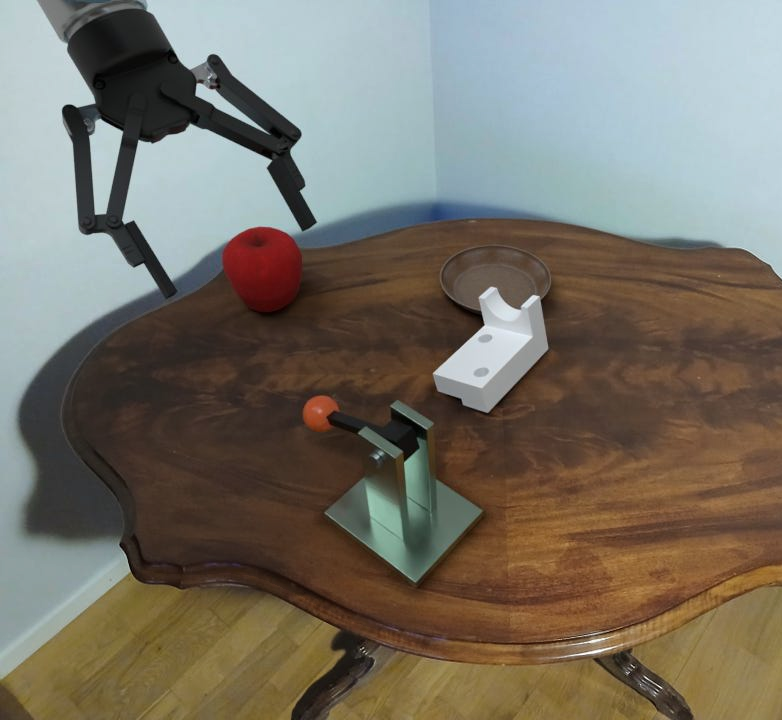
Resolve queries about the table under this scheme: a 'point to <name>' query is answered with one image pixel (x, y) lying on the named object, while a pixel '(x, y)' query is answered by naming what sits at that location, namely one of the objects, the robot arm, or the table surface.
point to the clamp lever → (356, 424)
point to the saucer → (494, 276)
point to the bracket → (495, 352)
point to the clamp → (403, 503)
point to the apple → (263, 268)
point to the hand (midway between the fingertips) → (244, 260)
